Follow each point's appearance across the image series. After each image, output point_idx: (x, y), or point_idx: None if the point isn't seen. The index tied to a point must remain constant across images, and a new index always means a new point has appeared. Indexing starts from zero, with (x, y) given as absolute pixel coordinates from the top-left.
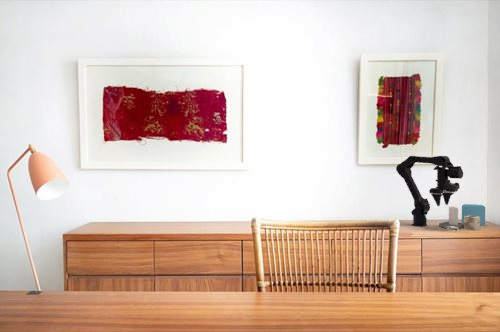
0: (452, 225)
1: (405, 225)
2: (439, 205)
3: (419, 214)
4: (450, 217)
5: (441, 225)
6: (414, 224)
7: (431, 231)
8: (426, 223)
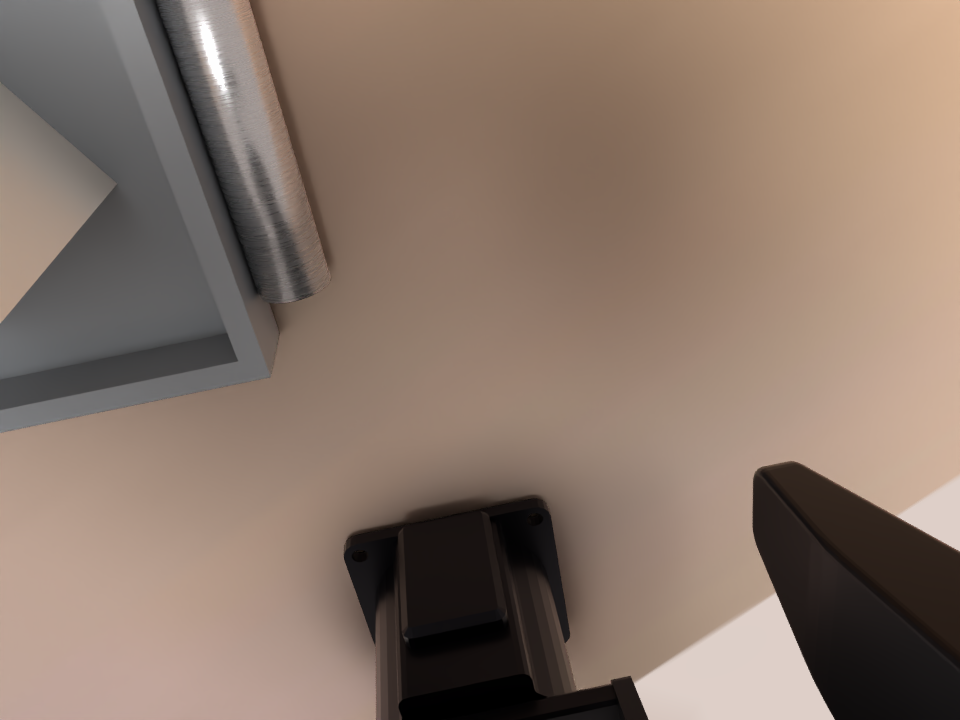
0: (152, 39)
1: (666, 640)
2: (792, 474)
3: (636, 699)
4: (2, 261)
5: (308, 270)
6: (557, 610)
7: (947, 7)
8: (402, 541)
